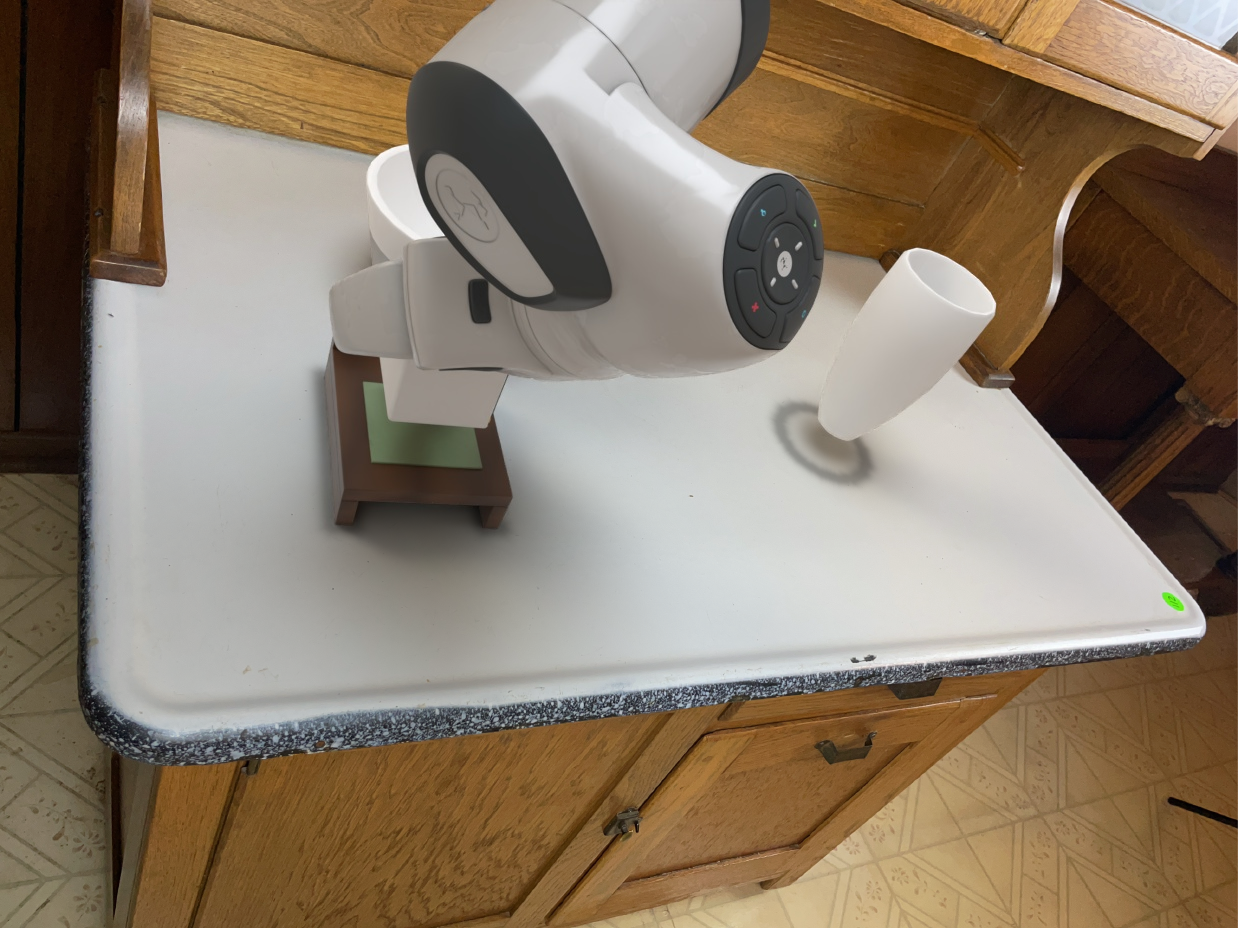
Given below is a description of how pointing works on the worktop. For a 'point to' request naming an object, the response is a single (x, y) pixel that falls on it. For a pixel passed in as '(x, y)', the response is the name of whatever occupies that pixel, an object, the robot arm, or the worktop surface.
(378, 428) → the shelf
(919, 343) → the cup
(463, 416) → the medicine bottle
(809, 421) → the worktop surface
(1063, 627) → the worktop surface
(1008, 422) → the worktop surface
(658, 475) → the worktop surface
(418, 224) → the bowl
